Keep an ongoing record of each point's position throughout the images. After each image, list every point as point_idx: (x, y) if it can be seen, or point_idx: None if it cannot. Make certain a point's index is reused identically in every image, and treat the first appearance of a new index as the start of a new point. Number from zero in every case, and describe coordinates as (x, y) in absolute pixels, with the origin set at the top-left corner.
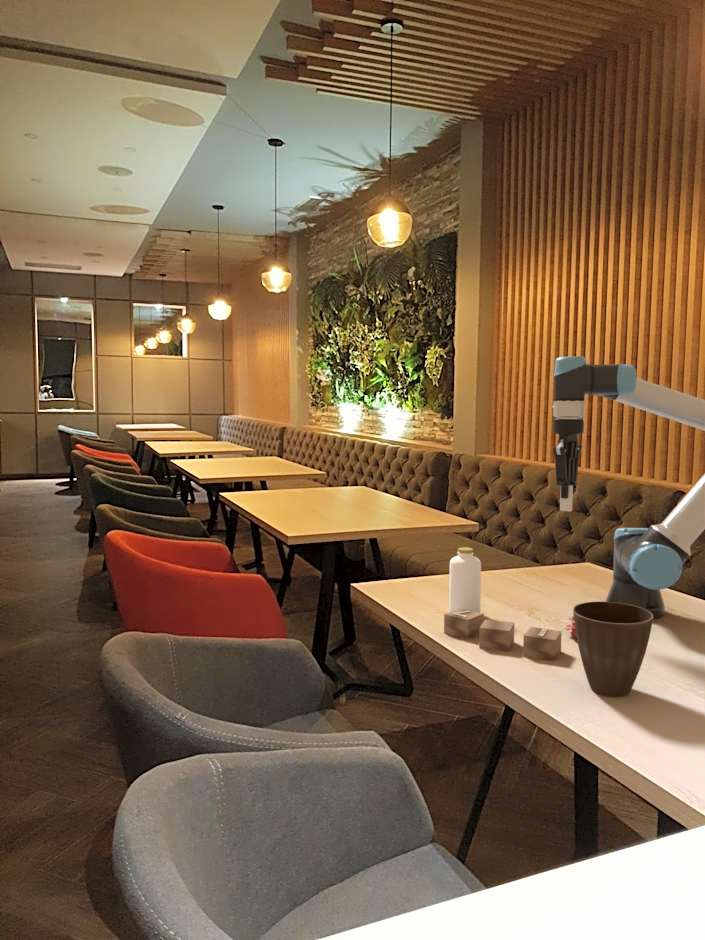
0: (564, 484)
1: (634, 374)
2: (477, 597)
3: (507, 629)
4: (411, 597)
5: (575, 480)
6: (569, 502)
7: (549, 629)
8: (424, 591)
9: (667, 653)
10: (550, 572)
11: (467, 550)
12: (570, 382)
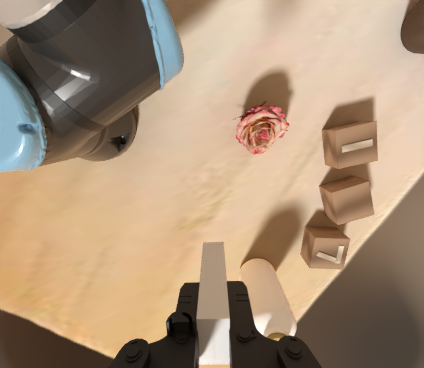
0: (273, 344)
1: None
2: (264, 272)
3: (364, 186)
4: None
5: (141, 347)
6: (224, 263)
7: (336, 145)
8: None
9: (253, 15)
10: (3, 282)
11: None
12: None
